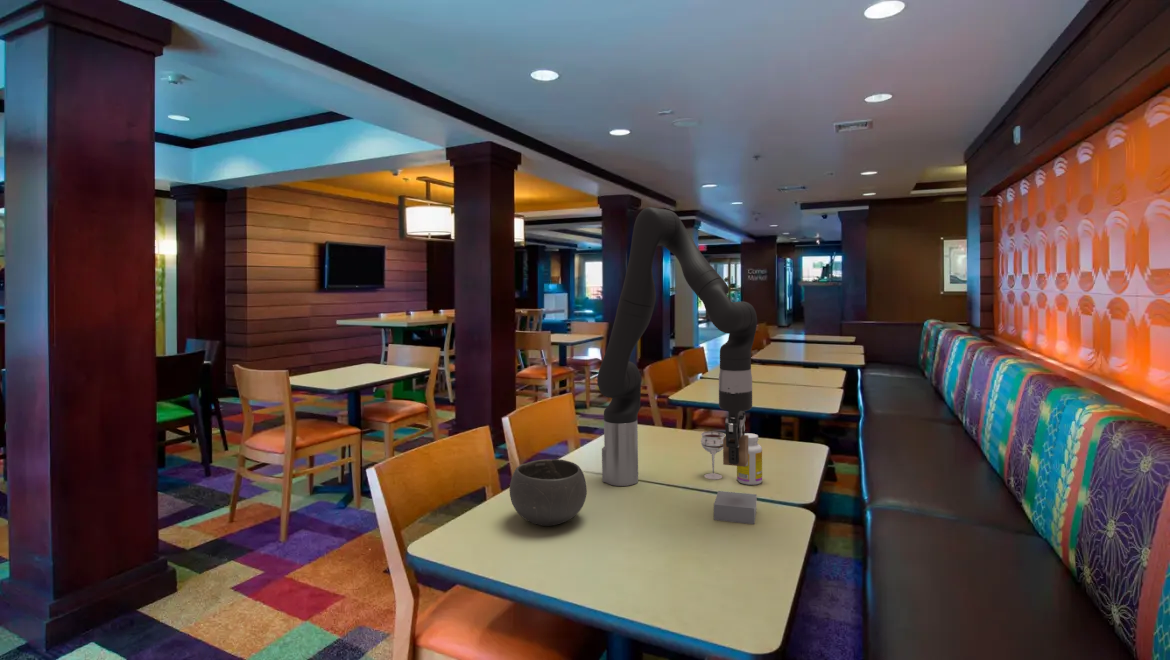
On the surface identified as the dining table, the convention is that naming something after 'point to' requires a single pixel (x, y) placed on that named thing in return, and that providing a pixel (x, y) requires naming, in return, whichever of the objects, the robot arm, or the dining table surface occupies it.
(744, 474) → the supplement bottle
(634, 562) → the dining table surface
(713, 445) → the wineglass
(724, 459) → the walnut block
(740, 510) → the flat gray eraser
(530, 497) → the bowl
